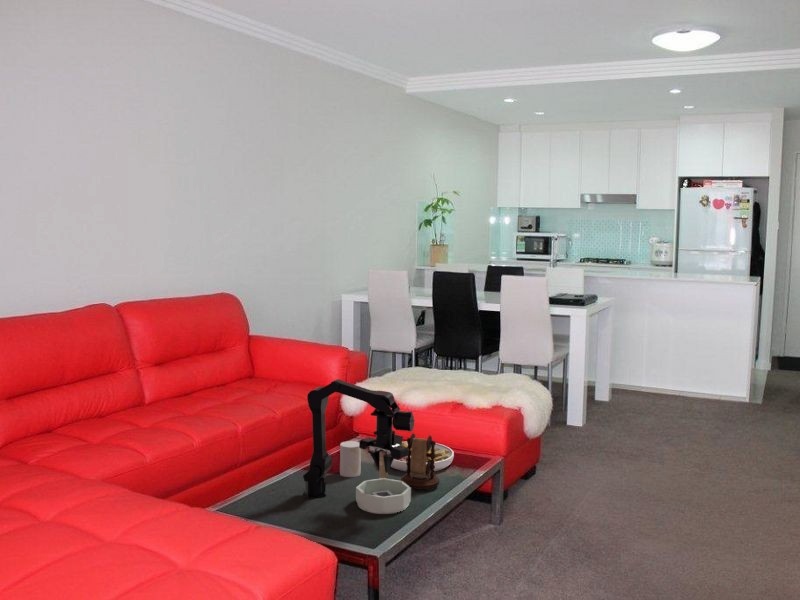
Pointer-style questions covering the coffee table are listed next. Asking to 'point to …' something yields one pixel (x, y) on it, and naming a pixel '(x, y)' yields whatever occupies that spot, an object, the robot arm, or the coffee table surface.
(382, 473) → the beige rounded cylinder
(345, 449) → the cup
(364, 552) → the coffee table surface
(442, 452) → the bowl
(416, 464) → the scroll
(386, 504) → the octagonal white bin
